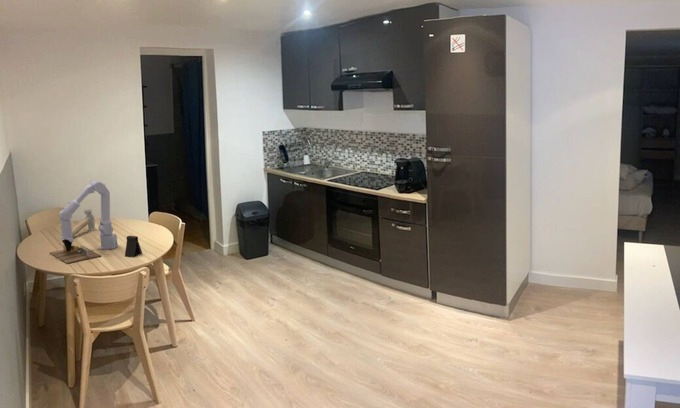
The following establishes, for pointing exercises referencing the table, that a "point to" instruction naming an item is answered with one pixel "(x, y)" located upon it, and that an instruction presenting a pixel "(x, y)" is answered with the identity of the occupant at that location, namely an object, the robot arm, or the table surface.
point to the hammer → (85, 222)
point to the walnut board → (74, 256)
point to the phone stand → (132, 247)
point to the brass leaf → (73, 248)
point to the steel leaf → (83, 251)
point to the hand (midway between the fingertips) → (68, 250)
